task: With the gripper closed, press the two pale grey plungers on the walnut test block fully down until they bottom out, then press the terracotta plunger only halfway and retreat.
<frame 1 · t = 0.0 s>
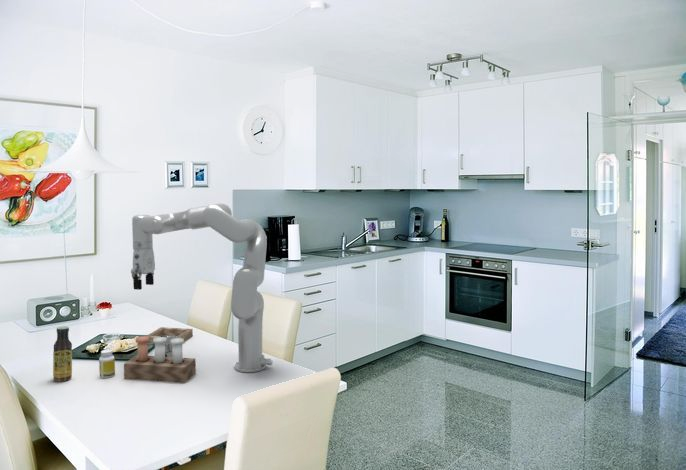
hand: (143, 286, 214), 31 cm above the table, fingers open, 9 cm apart
supplement bottle: (107, 376, 201), on the table
test block: (160, 376, 201), on the table
square wooden frame: (169, 340, 246), on the table
sauce bottle: (63, 379, 196), on the table
grey plug A: (177, 352, 199), point 10 cm above the table, slide at 0.0 cm
terracotta plug: (142, 350, 201), point 10 cm above the table, slide at 0.0 cm
grey plug B: (160, 351, 200), point 10 cm above the table, slide at 0.0 cm
electrical switch: (166, 359, 221), on the table
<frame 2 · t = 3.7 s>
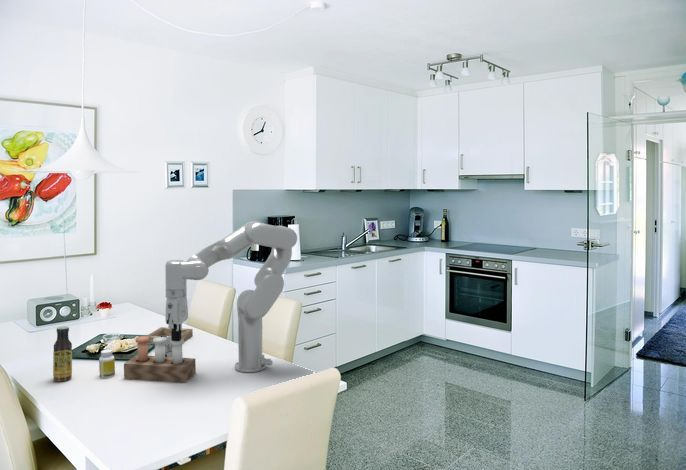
hand: (176, 340, 198), 15 cm above the table, fingers closed
grey plug A: (177, 353, 199), point 9 cm above the table, slide at 0.2 cm, touching gripper
everything else where it was.
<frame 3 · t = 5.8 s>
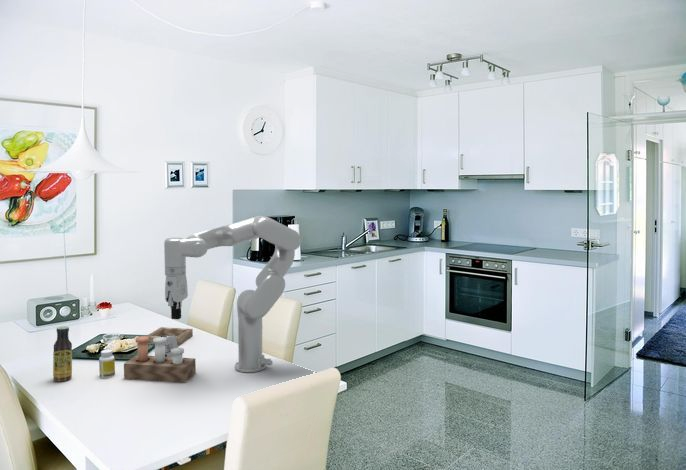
hand: (176, 318, 198), 23 cm above the table, fingers closed
grey plug A: (177, 362, 200), point 6 cm above the table, slide at 3.8 cm
everything else where it was.
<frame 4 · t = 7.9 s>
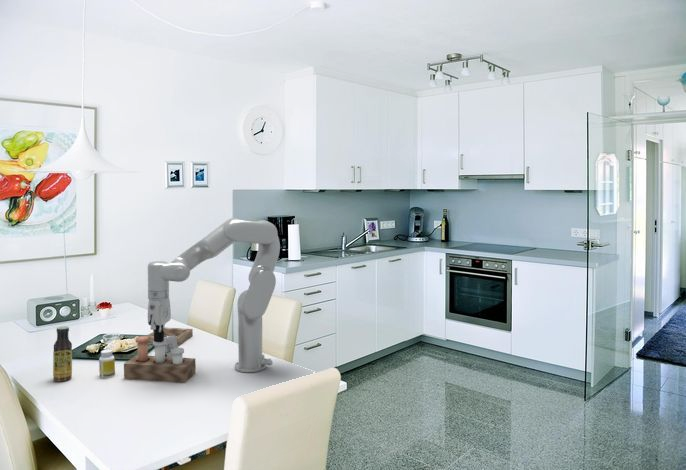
hand: (158, 341, 199), 14 cm above the table, fingers closed
grey plug B: (160, 354, 200), point 9 cm above the table, slide at 1.0 cm, touching gripper
everything else where it was.
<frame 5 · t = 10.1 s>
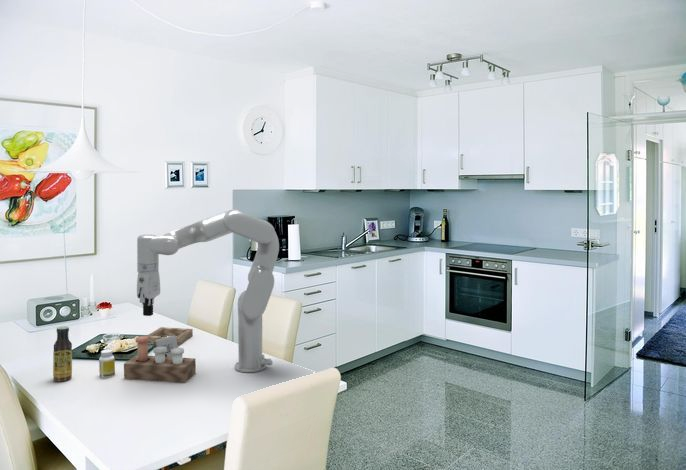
hand: (148, 315, 199), 24 cm above the table, fingers closed
grey plug B: (160, 361, 200), point 6 cm above the table, slide at 3.8 cm
everything else where it was.
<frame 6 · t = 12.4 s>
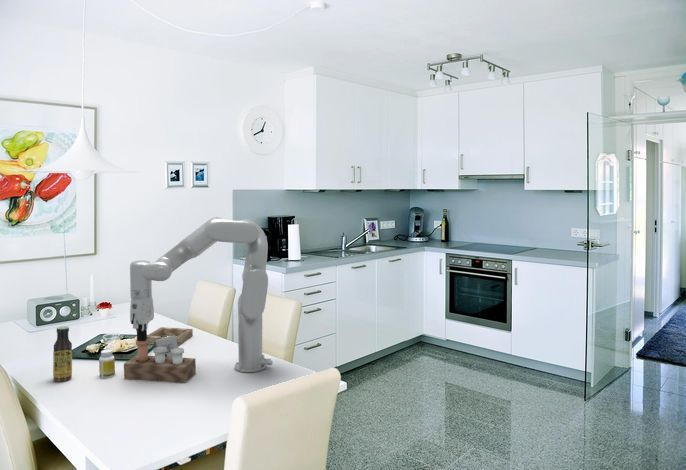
hand: (141, 340, 200), 14 cm above the table, fingers closed
terracotta plug: (142, 353, 201), point 9 cm above the table, slide at 1.0 cm, touching gripper
everything else where it was.
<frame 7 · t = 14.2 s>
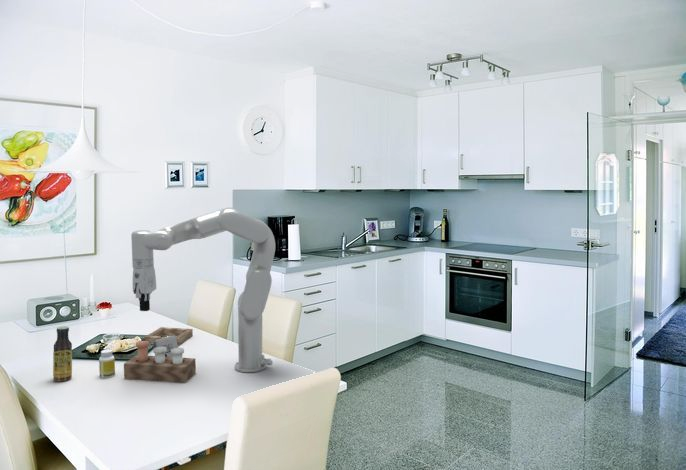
hand: (144, 310, 200), 25 cm above the table, fingers closed
terracotta plug: (142, 355, 201), point 8 cm above the table, slide at 1.9 cm
everything else where it was.
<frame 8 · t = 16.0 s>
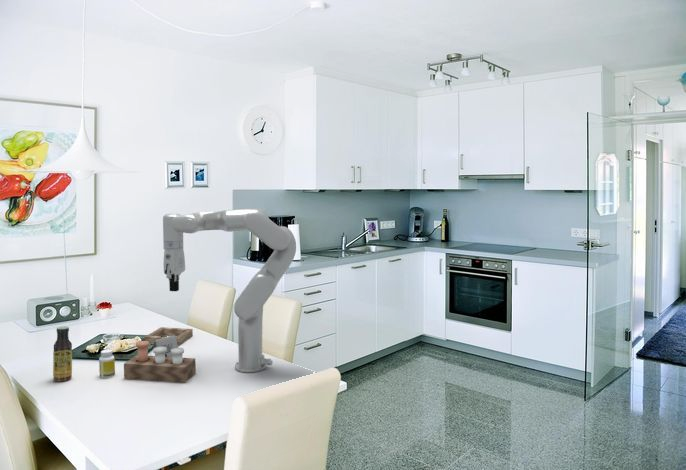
hand: (174, 290, 208), 31 cm above the table, fingers closed
nothing on the table moved.
at the end: grey plug A slide at 3.8 cm; grey plug B slide at 3.8 cm; terracotta plug slide at 1.9 cm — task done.
